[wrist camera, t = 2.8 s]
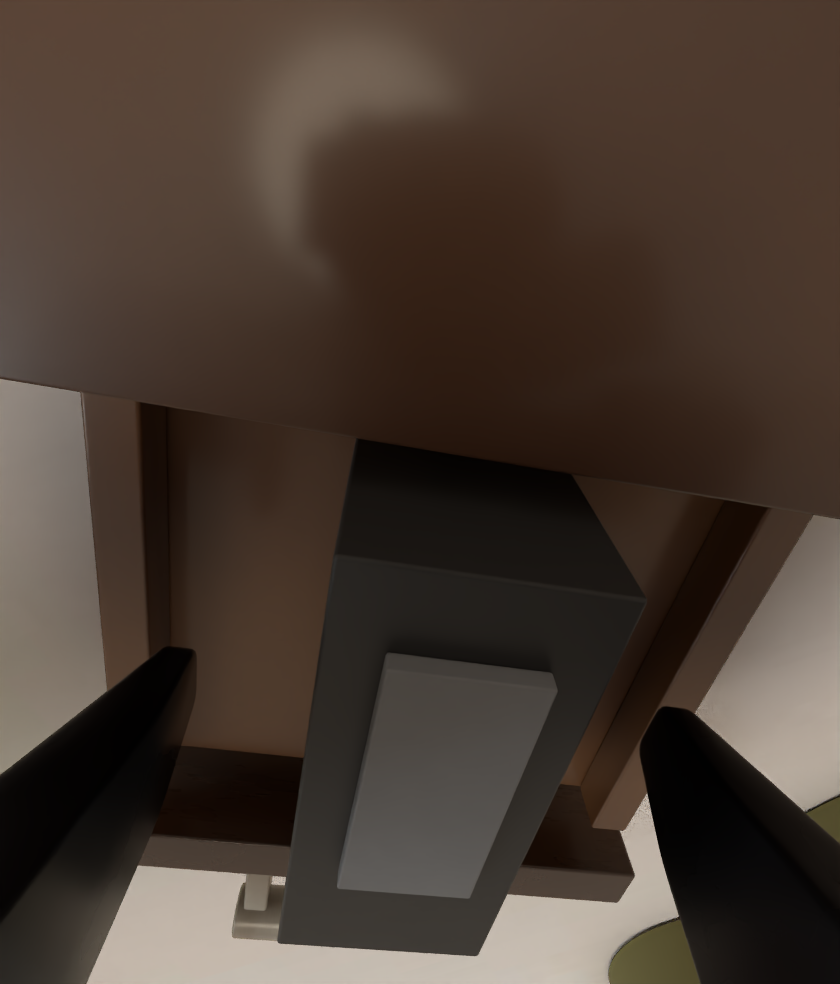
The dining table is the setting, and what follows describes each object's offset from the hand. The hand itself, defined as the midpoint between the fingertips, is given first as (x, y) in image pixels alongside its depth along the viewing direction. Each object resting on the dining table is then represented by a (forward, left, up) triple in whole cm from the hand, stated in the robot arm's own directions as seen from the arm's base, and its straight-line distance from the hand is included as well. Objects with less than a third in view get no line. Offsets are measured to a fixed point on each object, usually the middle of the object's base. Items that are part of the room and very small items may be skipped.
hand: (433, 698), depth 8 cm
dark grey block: (-1, 0, -2) cm, 3 cm away
